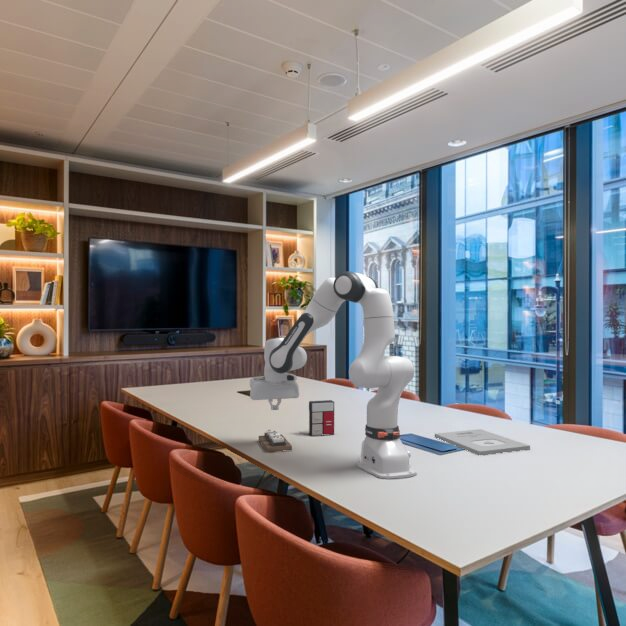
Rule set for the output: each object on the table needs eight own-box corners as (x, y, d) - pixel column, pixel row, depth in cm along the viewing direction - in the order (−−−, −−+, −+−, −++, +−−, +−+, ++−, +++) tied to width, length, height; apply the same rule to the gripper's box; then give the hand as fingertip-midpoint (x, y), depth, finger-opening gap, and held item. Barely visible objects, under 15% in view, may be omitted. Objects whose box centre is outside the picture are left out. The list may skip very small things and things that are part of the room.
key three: (283, 442, 197) (283, 438, 197) (273, 443, 196) (273, 438, 196) (281, 440, 201) (281, 435, 201) (271, 440, 200) (271, 436, 200)
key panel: (291, 450, 196) (291, 442, 196) (267, 452, 193) (267, 443, 193) (281, 438, 214) (281, 431, 214) (258, 440, 212) (258, 432, 212)
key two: (277, 435, 208) (277, 431, 208) (268, 436, 207) (268, 431, 207) (275, 433, 212) (275, 429, 212) (266, 433, 211) (266, 429, 211)
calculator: (311, 436, 219) (311, 402, 219) (308, 434, 223) (308, 401, 223) (334, 435, 222) (334, 401, 222) (332, 432, 226) (332, 400, 226)
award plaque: (480, 433, 226) (480, 429, 226) (530, 450, 198) (530, 445, 198) (434, 438, 218) (434, 433, 218) (479, 457, 190) (479, 451, 190)
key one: (280, 439, 203) (280, 434, 203) (270, 439, 201) (270, 435, 201) (278, 436, 206) (278, 432, 206) (269, 437, 205) (269, 433, 205)
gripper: (250, 378, 198) (250, 412, 198) (300, 376, 204) (300, 410, 204) (248, 376, 204) (248, 409, 204) (296, 374, 210) (296, 407, 210)
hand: (274, 409), depth 204 cm, fingers closed
